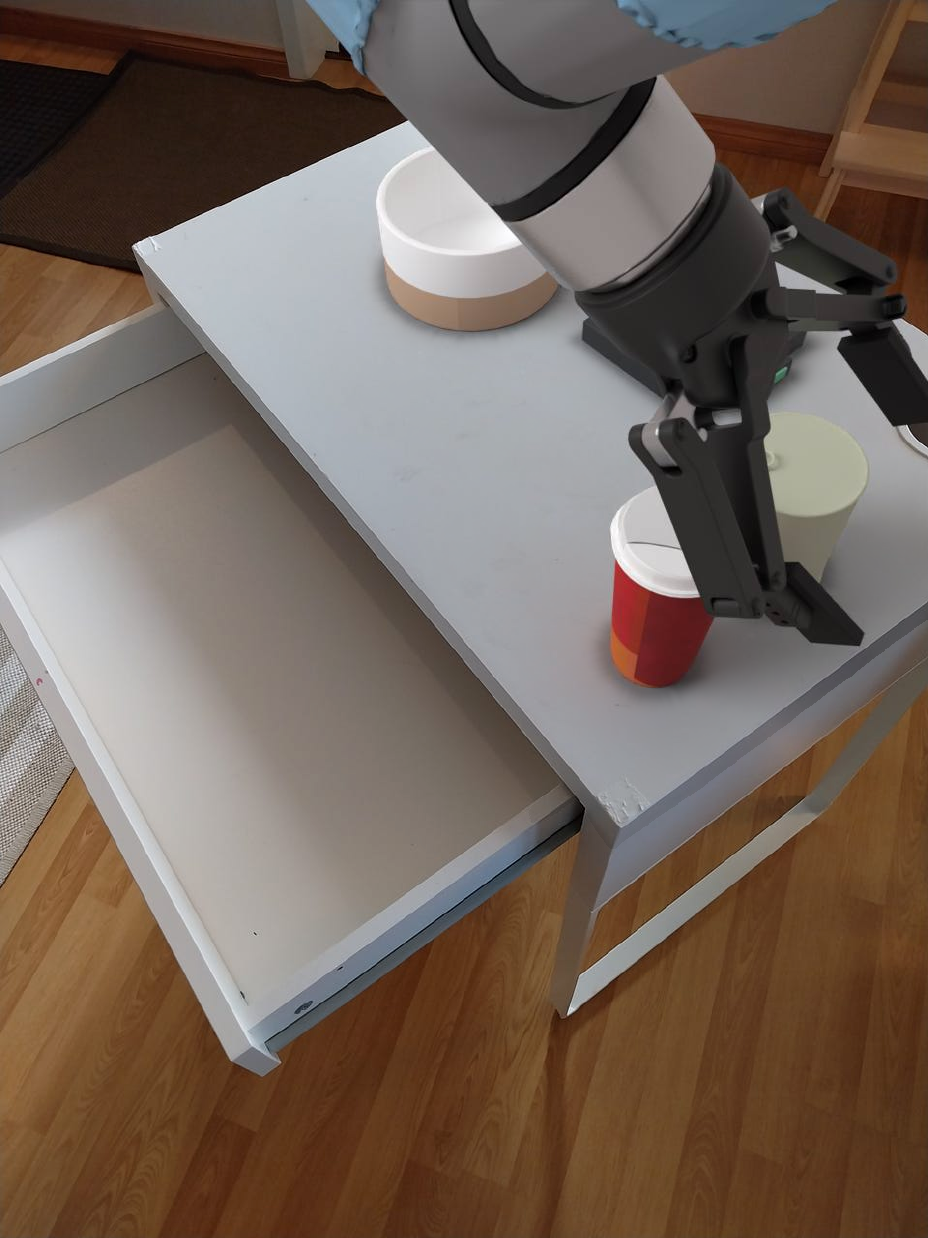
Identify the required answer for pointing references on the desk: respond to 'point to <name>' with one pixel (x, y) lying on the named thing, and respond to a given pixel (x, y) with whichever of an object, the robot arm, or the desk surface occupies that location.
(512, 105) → the robot arm
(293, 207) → the desk surface
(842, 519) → the can
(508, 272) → the bowl
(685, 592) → the coffee cup
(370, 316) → the desk surface
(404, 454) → the desk surface
